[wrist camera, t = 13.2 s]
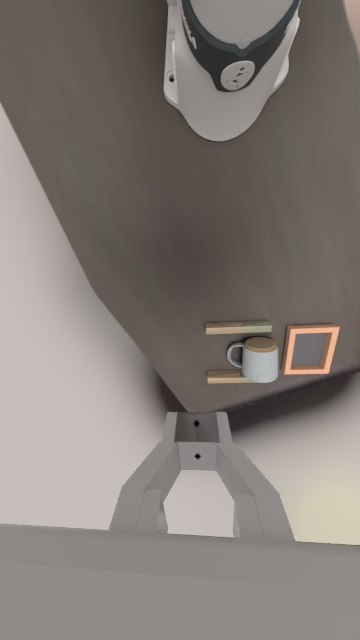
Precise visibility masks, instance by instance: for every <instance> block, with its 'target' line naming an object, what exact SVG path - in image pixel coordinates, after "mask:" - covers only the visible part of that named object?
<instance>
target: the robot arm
mask: <svg viewBox="0 0 360 640" xmlns="http://www.w3.org/2000/svg"><path fill="white" fill-rule="evenodd" d="M300 3H301V0H167V4H168V5H169V7H168V24H167V40H166V57H165V73H164V96H165V99H166V100H167V101H168V102H169V103H170V104H171V105H172V106H174V107H175V108H177V109H178V110H180V112H181V113H182V114H183V116H184V118H185V119H186V121H187V123H188V124H189V126H190V127H191V128H192V129H193V130H194V131H195V132H196V133H197V134H198V135H200V136H202V137H203V138H205V139H208V140H212V141H226V140H230V139H233V138H235V137H237V136H239V135H240V134H242V133H243V132H244V131H246V130H247V129H248V128H249V127H250V126H251V125H252V124H253V122H254V121H255V120H256V118H257V117H258V115H259V114H260V112H261V110H262V108H263V107H264V105H265V103H266V101H267V99H268V98H269V96H270V95H271V94H272V93H274V92H275V91H276V90H277V89H278V88H279V87H280V86H281V84H282V83H283V82H284V80H285V78H286V76H287V73H288V70H289V60H288V52H289V50H290V47H291V45H292V42H293V40H294V37H295V35H296V32H297V29H298V26H299V21H300V19H299V17H298V8H299V5H300ZM172 78H173V79H174V81H173V82H170V79H172ZM198 469H199V470H214V471H217V472H218V474H219V476H220V478H221V479H222V481H223V483H224V484H225V486H226V488H227V489H228V491H229V493H230V495H231V496H232V498H233V500H234V503H235V504H234V524H233V534H234V538H231V537H213V536H198V535H181V534H167V530H168V527H167V522H166V516H165V511H164V505H163V502H164V500H165V499H166V497H167V495H168V493H169V491H170V489H171V488H172V486H173V484H174V482H175V480H176V479H177V477H178V475H179V473H180V471H181V470H198ZM0 640H360V545H346V544H330V543H328V544H327V543H314V542H296V541H295V539H294V536H293V533H292V530H291V527H290V524H289V521H288V518H287V515H286V513H285V510H284V507H283V504H282V501H281V498H280V495H279V493H278V492H277V490H276V489H275V488H274V487H273V486H272V485H271V483H270V482H269V481H268V480H267V479H266V478H265V477H264V476H263V474H262V473H261V472H260V471H259V470H258V469H257V467H256V466H255V465H254V464H253V463H252V462H251V460H250V459H249V458H248V457H247V456H246V455H245V453H244V452H243V451H242V450H241V449H240V448H239V447H238V445H237V444H236V443H232V438H231V433H230V428H229V423H228V418H227V413H226V412H196V413H192V412H168V413H167V417H166V422H165V428H164V434H163V440H162V442H159V443H158V444H157V446H156V447H155V448H154V449H153V450H152V452H151V453H150V454H149V455H148V456H147V458H146V459H145V460H144V461H143V462H142V464H141V465H140V466H139V467H138V468H137V469H136V471H135V472H134V473H133V474H132V475H131V477H130V478H129V479H128V480H127V481H126V483H125V484H124V485H123V486H122V489H121V492H120V495H119V498H118V502H117V505H116V508H115V511H114V515H113V518H112V521H111V524H110V528H109V530H98V529H82V528H81V529H80V528H65V527H48V526H32V525H15V524H0Z"/></svg>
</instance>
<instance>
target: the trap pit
mask: <svg viewBox="0 0 360 640" xmlns="http://www.w3.org/2000/svg"><path fill="white" fill-rule="evenodd" d="M339 328H340V327H339V326H337V325H335V324H311V325H288V326H287V327H286V334H285V342H284V349H283V357H282V364H281V370H282V372H283V373H284V374H325V373H329V369H330V365H331V361H332V357H333V353H334V349H335V345H336V340H337V336H338V332H339Z"/></svg>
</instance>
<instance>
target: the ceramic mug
mask: <svg viewBox="0 0 360 640" xmlns="http://www.w3.org/2000/svg"><path fill="white" fill-rule="evenodd" d="M238 346H239V347H243V358H242V364H241V363H238V362H236V361H234V360H233V359H232V357H231V351H232V348H233V347H238ZM227 357H228V360H229V361H230V362H231V363H232V364H233V365H235V366H237V367H240V368H242V373H243V375H244V376H245V377H246V378H248V379H250V380H252V381H255V382H260V383H268V382H272V381H274V380H276V378H277V377H278V346H277V344H276V343H275V342H274V341H273V340H271V339H269V338H265V337H253V338H249V339H247V340H246V341H245V342H244V343H234V344H232V345H231V346H230V347H229V349H228V352H227Z"/></svg>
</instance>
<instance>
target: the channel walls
mask: <svg viewBox="0 0 360 640" xmlns="http://www.w3.org/2000/svg"><path fill="white" fill-rule="evenodd" d="M205 324H206V334H229V333H254V332H271V330H272V325H271V324H270V323H269V322H268V321H267V320H264V321H242V322H220V323H205ZM207 379H208V383H256V382H255V381H252V380H250V379H248V378H246V377H245V376H244V375H243V373H242V370H224V371H207Z"/></svg>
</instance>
